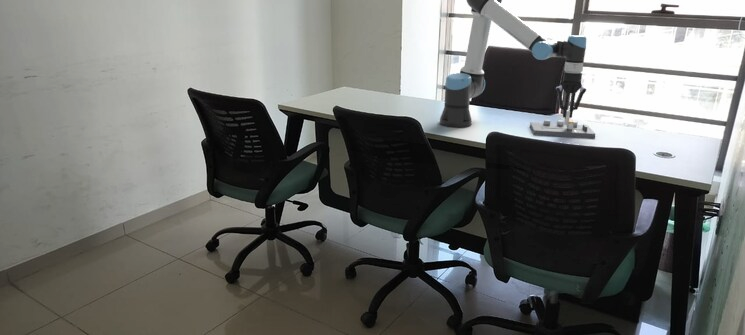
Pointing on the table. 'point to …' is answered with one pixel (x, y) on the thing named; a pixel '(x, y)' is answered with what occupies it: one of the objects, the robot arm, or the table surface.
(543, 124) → the console
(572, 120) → the fader
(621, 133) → the table surface
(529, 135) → the table surface
